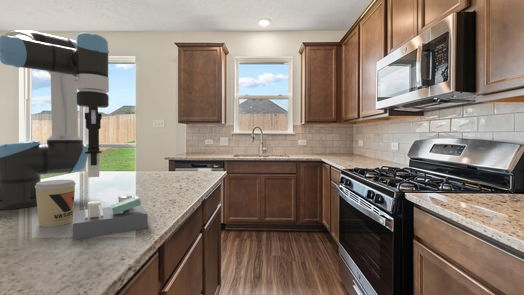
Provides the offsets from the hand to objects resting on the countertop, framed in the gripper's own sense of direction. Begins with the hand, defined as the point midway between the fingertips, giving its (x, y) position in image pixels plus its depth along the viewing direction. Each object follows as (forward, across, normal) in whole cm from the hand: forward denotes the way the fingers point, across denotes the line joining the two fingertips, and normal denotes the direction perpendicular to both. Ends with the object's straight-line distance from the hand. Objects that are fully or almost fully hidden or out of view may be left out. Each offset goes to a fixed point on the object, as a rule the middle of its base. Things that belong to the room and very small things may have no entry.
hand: (93, 176), depth 75 cm
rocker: (+8, +6, +8) cm, 12 cm away
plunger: (+10, 0, +8) cm, 13 cm away
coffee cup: (+14, -9, -9) cm, 19 cm away
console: (+14, +3, +4) cm, 15 cm away
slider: (+10, +6, 0) cm, 11 cm away
